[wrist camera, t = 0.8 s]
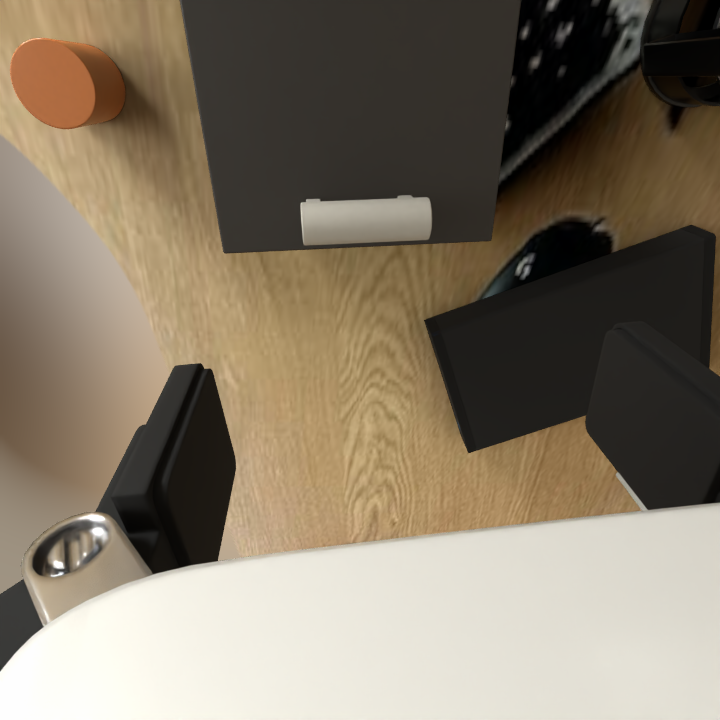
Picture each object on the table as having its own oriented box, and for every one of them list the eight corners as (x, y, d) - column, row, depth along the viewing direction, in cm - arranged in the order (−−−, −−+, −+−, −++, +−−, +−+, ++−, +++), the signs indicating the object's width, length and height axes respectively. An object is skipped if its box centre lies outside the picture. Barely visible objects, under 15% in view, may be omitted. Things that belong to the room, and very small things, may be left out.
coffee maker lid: (486, 237, 26) (522, 268, 21) (225, 249, 25) (207, 285, 21) (537, -185, 18) (609, -269, 13) (151, -190, 17) (95, -282, 12)
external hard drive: (686, 360, 46) (708, 377, 44) (460, 434, 49) (468, 454, 46) (689, 224, 39) (716, 234, 37) (423, 319, 41) (430, 335, 39)
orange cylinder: (36, 71, 30) (-9, 69, 26) (87, 27, 29) (49, 19, 25) (91, 135, 32) (57, 144, 28) (140, 97, 31) (113, 100, 27)
